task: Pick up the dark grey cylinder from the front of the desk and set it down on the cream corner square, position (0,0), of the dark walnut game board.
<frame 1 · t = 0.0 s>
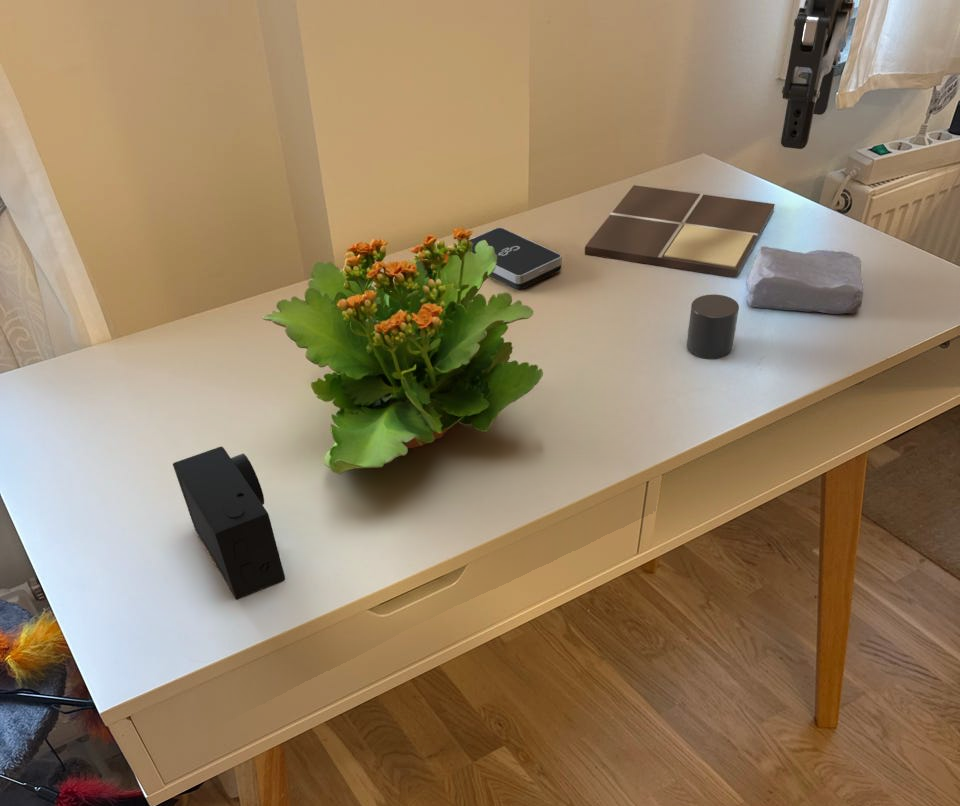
hand: (803, 129, 86), 19 cm above the table, tool pointing down, fingers open, 8 cm apart
stone block: (801, 292, 105), on the table
dark grey cylinder: (709, 346, 98), on the table
potted flower: (407, 417, 92), on the table
digital camera: (246, 553, 80), on the table
board: (681, 232, 116), on the table
external hard drive: (509, 269, 112), on the table
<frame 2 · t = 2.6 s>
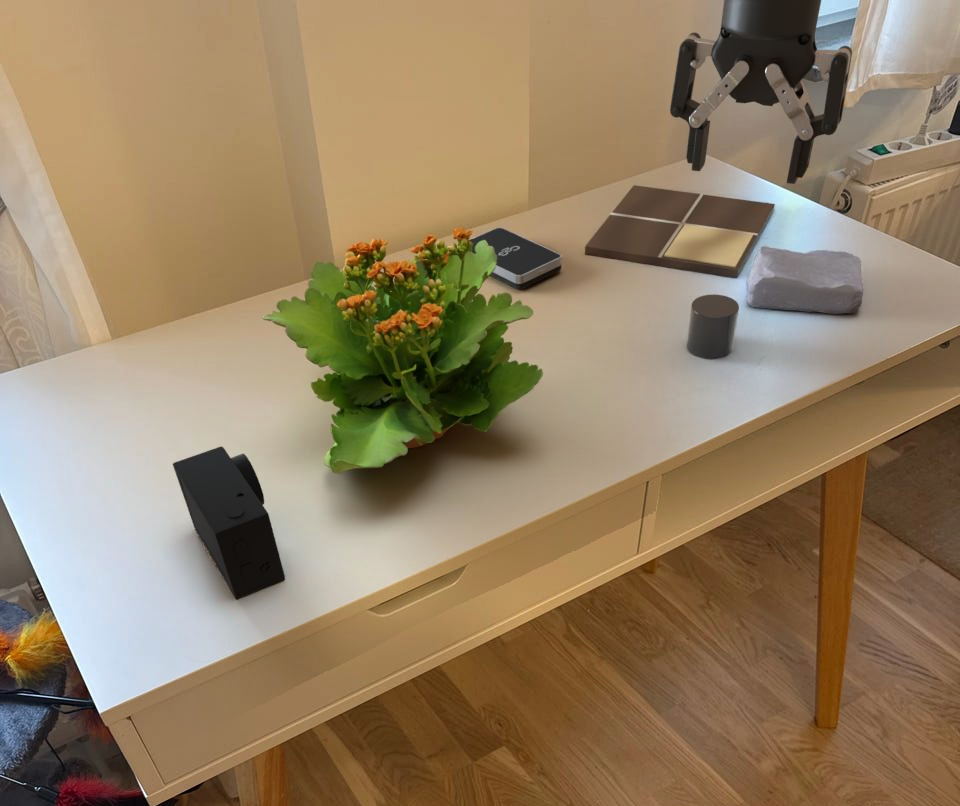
hand: (744, 174, 87), 17 cm above the table, tool pointing down, fingers open, 8 cm apart
nothing on the table moved.
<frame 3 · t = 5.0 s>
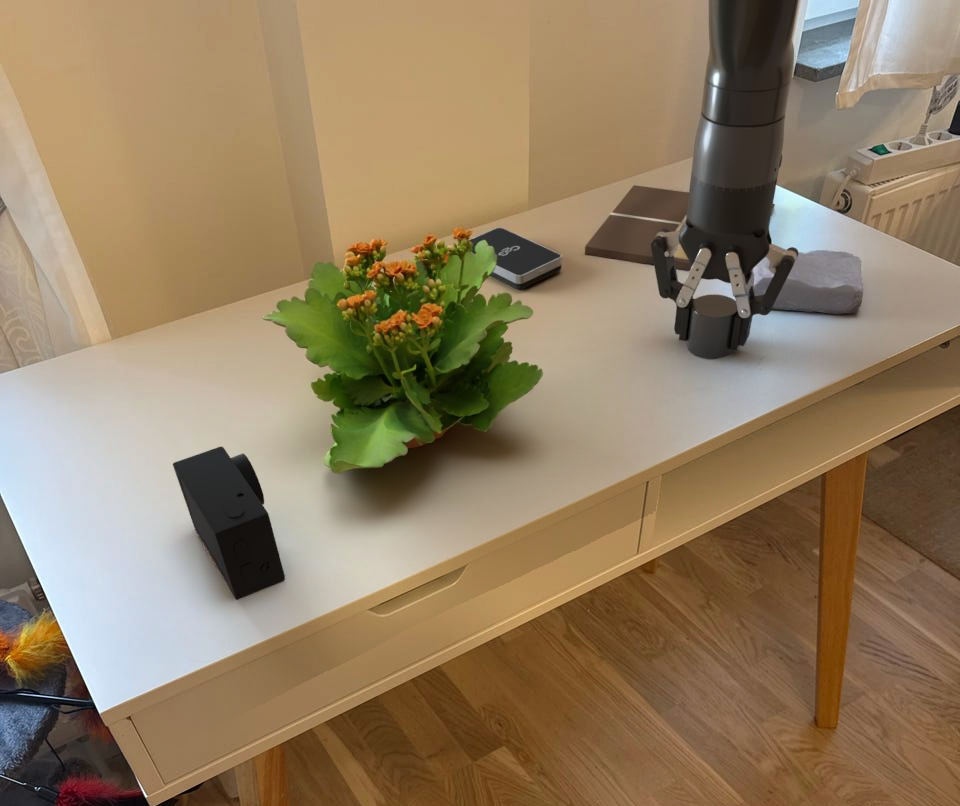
hand: (710, 341, 98), 1 cm above the table, tool pointing down, fingers closed on dark grey cylinder, 4 cm apart
dark grey cylinder: (709, 346, 98), on the table, touching gripper
everything else where it was.
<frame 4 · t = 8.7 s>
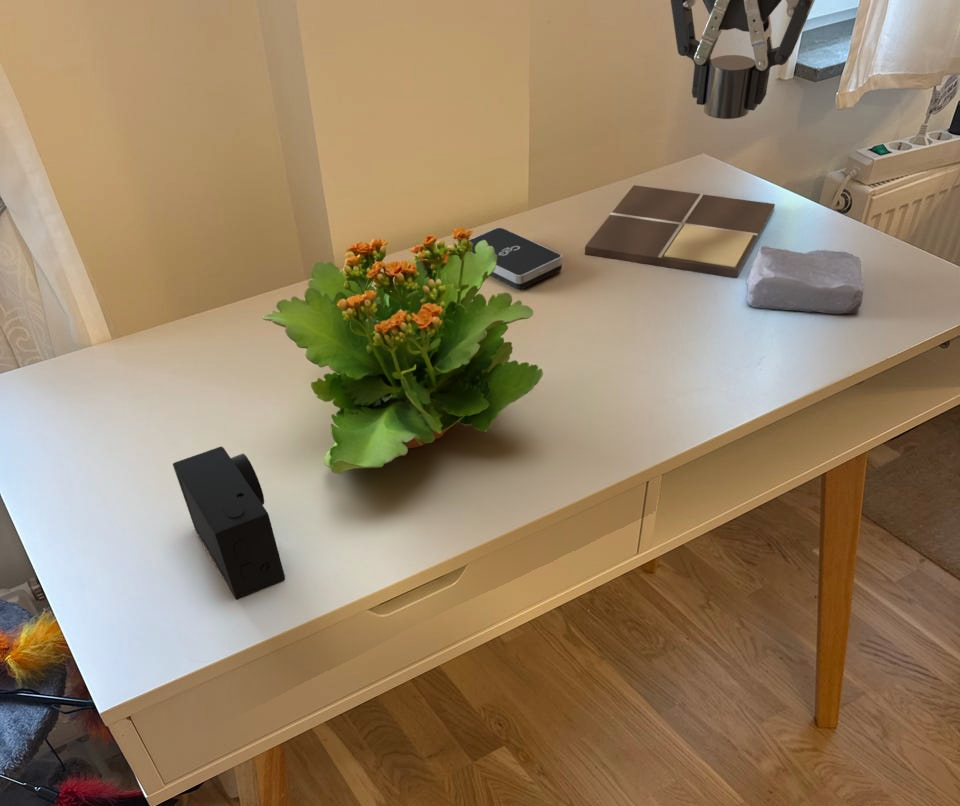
hand: (727, 104, 99), 16 cm above the table, tool pointing down, fingers closed on dark grey cylinder, 4 cm apart
dark grey cylinder: (726, 111, 100), point 16 cm above the table, touching gripper
everything else where it was.
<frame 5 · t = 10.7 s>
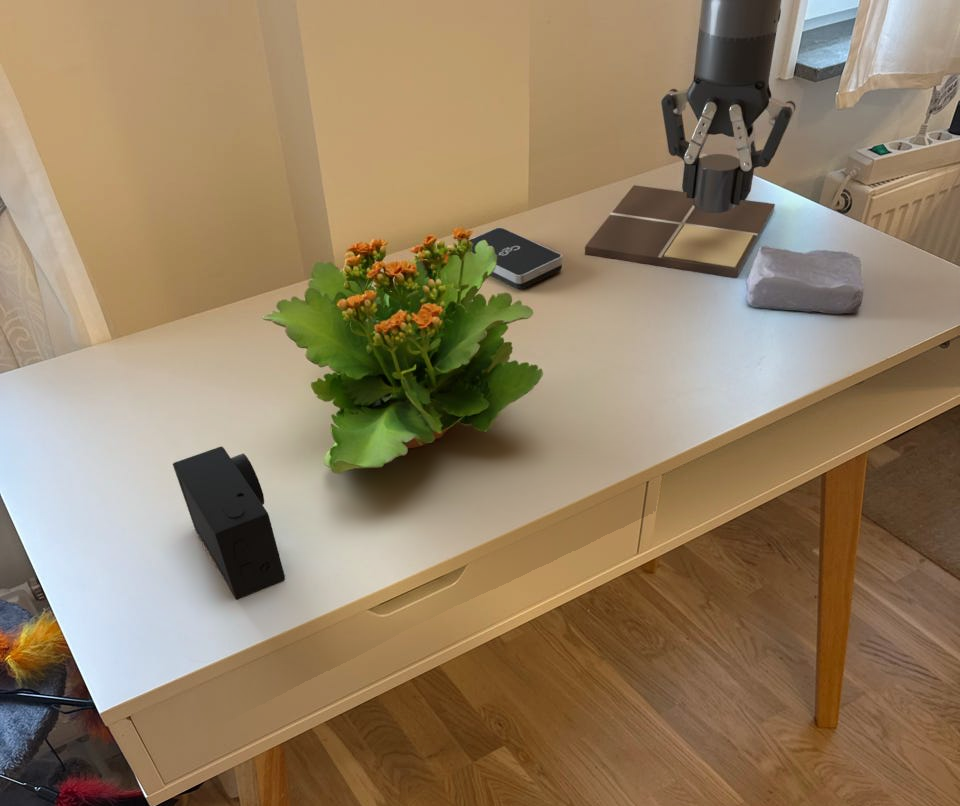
hand: (715, 198, 107), 6 cm above the table, tool pointing down, fingers closed on dark grey cylinder, 4 cm apart
dark grey cylinder: (714, 204, 107), point 6 cm above the table, touching gripper
everything else where it was.
when the fingers open (2 cm above the table, at t = 12.2 s): dark grey cylinder stays where it is, resting on board.
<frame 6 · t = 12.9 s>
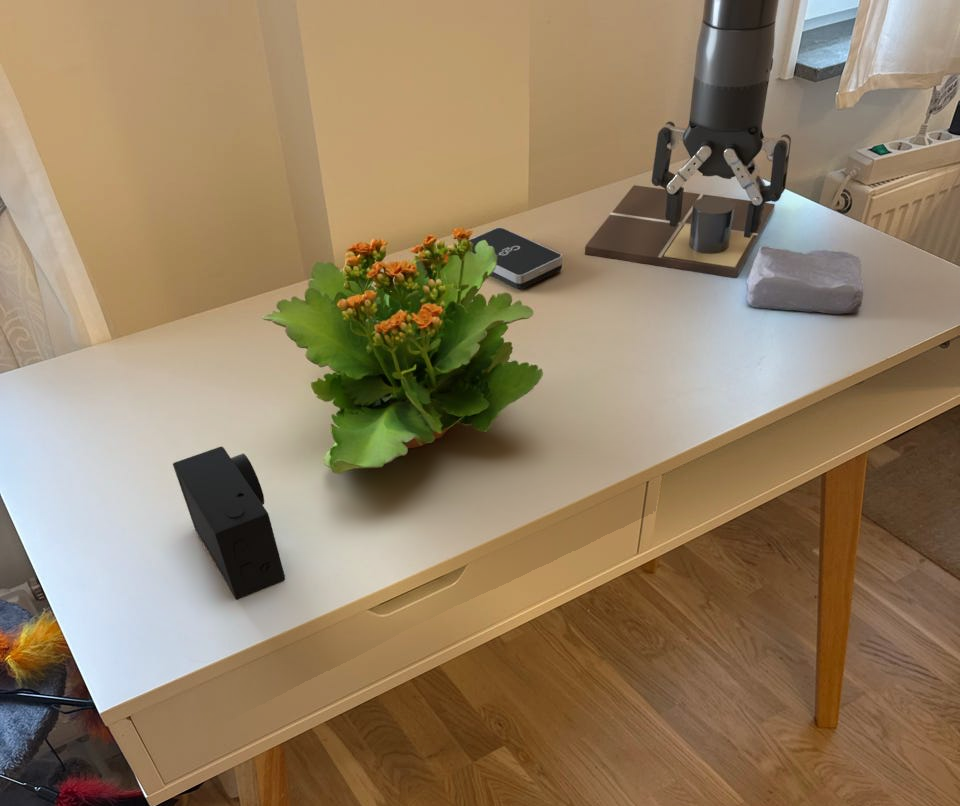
hand: (711, 229, 109), 3 cm above the table, tool pointing down, fingers open, 8 cm apart
dark grey cylinder: (708, 244, 111), point 1 cm above the table, touching board
everything else where it was.
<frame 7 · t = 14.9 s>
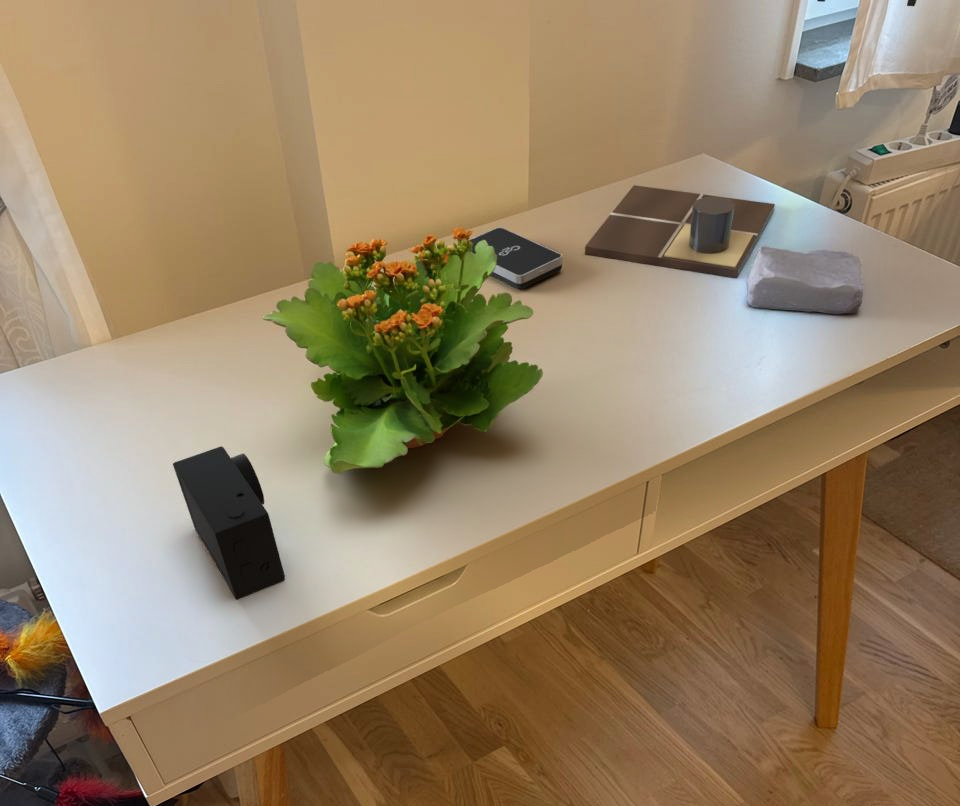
hand: (866, 2, 96), 24 cm above the table, tool pointing down, fingers open, 8 cm apart
nothing on the table moved.
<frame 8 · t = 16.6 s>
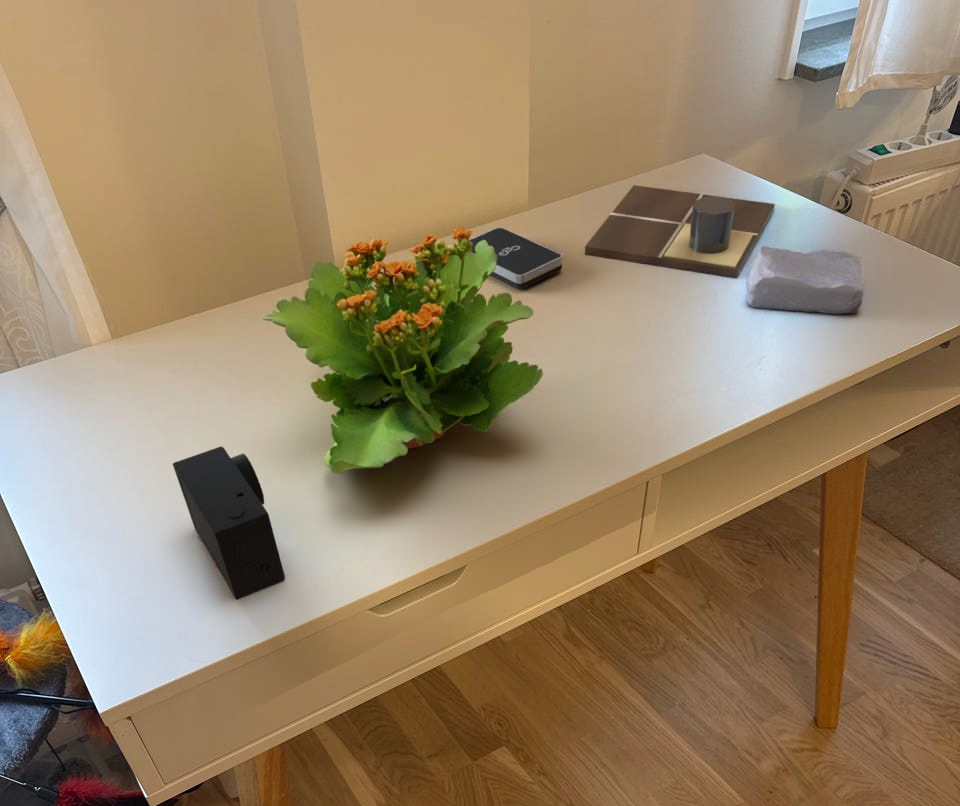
nothing on the table moved.
at the end: dark grey cylinder inside the target area on the board (0.0 cm from its centre), point 1.2 cm above the board's base; dark grey cylinder tilted 0°; the gripper is holding nothing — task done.
